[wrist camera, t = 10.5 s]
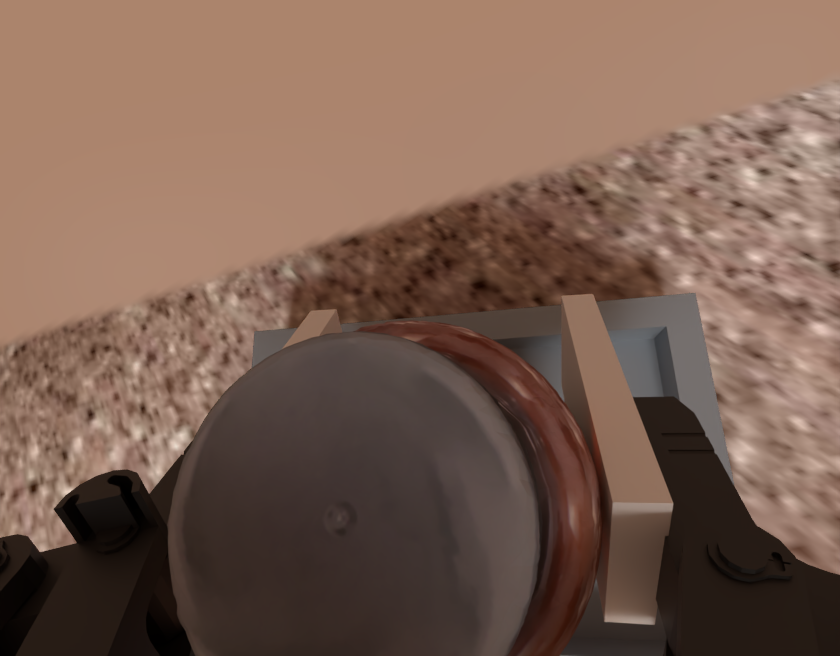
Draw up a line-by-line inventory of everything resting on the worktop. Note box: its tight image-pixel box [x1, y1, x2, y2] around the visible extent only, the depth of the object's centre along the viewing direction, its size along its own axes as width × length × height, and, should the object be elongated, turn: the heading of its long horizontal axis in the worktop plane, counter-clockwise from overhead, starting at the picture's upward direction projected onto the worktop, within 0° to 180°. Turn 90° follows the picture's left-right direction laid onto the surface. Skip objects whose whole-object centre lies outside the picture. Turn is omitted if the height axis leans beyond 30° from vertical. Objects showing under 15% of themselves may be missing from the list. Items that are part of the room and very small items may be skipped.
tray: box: [252, 293, 734, 656], centre depth 16 cm, size 15×11×2 cm
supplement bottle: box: [167, 320, 603, 656], centre depth 10 cm, size 6×6×11 cm
